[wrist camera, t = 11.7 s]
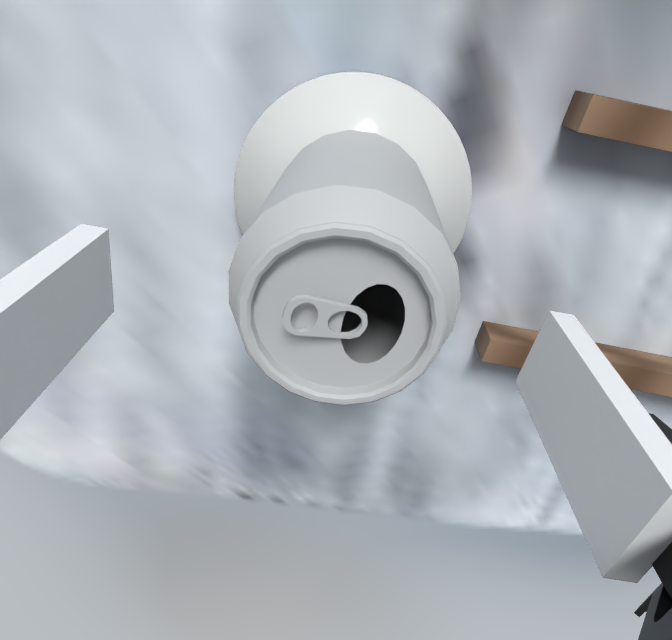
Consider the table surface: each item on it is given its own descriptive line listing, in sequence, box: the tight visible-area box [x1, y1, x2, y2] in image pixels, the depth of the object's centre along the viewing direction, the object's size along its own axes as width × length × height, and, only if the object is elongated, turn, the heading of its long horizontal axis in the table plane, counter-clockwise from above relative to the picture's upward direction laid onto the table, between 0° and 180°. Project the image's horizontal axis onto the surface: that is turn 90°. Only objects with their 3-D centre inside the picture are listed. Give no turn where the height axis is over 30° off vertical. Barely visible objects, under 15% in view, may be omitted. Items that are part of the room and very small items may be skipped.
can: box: [229, 130, 461, 405], centre depth 19 cm, size 8×8×12 cm
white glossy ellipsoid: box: [234, 71, 472, 254], centre depth 25 cm, size 12×12×1 cm
